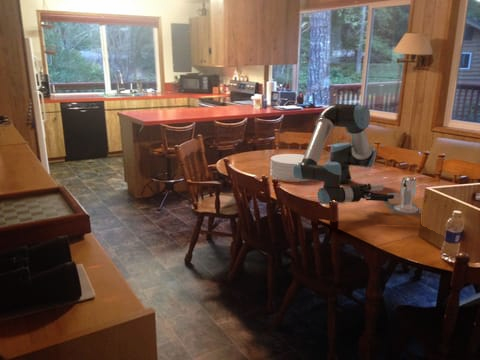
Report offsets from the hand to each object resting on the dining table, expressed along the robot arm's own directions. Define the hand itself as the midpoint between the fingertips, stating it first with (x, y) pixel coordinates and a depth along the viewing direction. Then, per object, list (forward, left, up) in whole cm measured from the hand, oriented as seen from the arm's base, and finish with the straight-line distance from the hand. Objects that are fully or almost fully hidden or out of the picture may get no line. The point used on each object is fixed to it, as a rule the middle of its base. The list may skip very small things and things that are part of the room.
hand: (390, 191), depth 200 cm
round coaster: (+9, +2, -10) cm, 14 cm away
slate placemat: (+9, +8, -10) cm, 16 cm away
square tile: (+9, +14, -10) cm, 20 cm away
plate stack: (-41, +65, -11) cm, 78 cm away
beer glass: (+9, +2, -9) cm, 13 cm away
